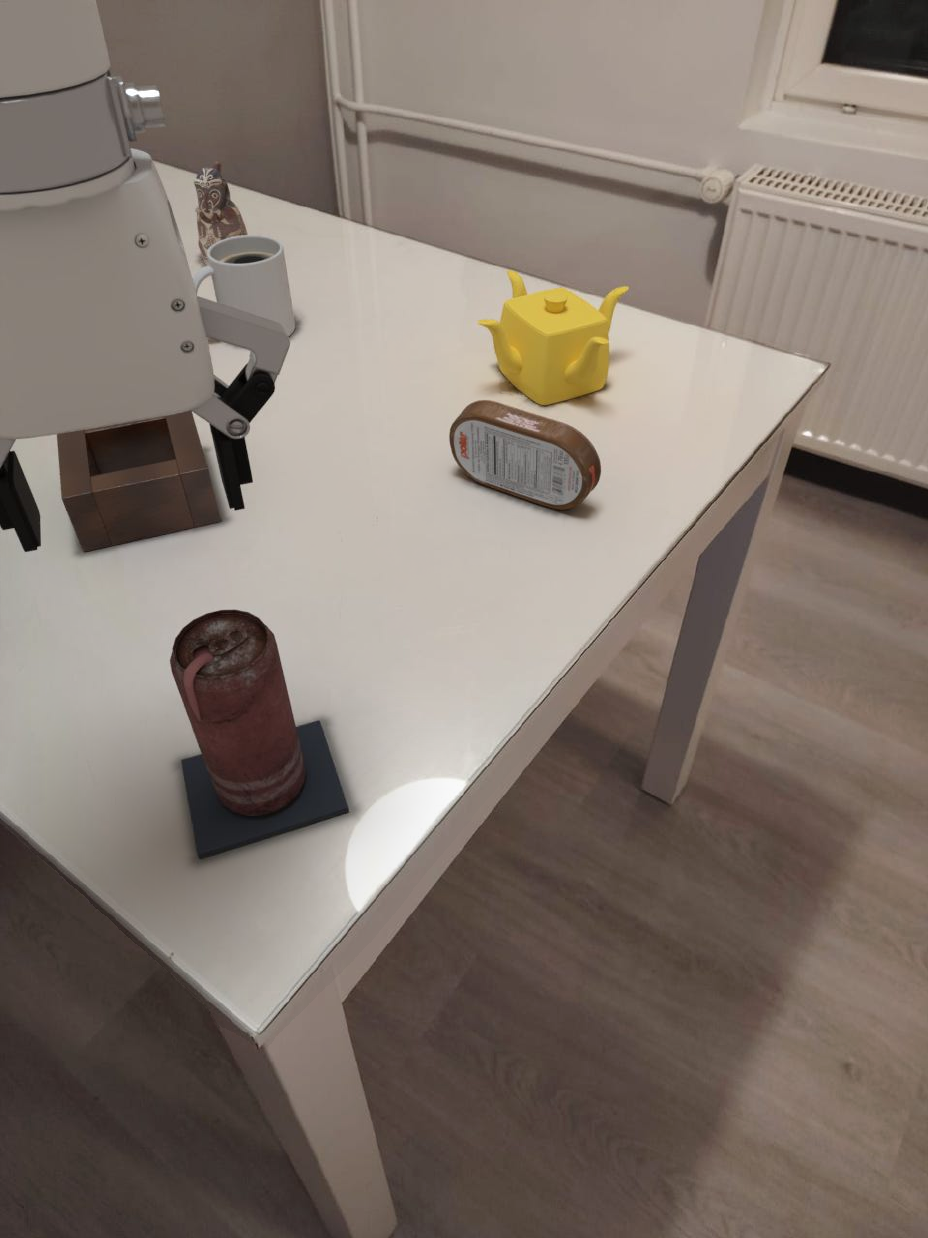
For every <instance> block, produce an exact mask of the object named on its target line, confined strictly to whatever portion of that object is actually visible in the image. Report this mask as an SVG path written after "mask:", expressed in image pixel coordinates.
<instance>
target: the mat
mask: <svg viewBox="0 0 928 1238" xmlns="http://www.w3.org/2000/svg"><path fill="white" fill-rule="evenodd" d="M296 729H297V734H298V738H299V742H300V747H301V751H302V755H303V760H304V764H305V769H306V772H305V781H304V783H303V785H302V787H301V789H300V791H299V793H298V794H297V795H296V796H295V797H294V798H293V799H292V800H291V801H290V803H289V804H288V805H286V806H284V807H283V808H281V809H280V810H278V811H276V812H273V813H270V814H267V815H263V816H247V815H243V814H239V813H235V812H233V811H231V810H230V809H228V808H227V807H225V806H224V805H223V804H222V802H221V801H220V799H219V798H218V796H217V794H216V792H215V789H214V786H213V783H212V781H211V778H210V775H209V773H208V770H207V767H206V764H205V762H204V759H203V756H202V753H201V754H197V755H193V756H190V757H187V758H186V757H185V758H183V759H181V760H180V764H181V769H182V774H183V779H184V786H185V791H186V792H185V793H186V797H187V803H188V809H189V814H190V820H191V826H192V831H193V832H192V833H193V837H194V843H195V848H196V854H197V856H198V859H199V860H202V859H205V858H208V857H210V856H214V855H217V854H220V853H224V852H227V851H230V850H234V849H236V848H241V847H242V846H247V845H249V844H252V843H255V842H259V841H262V840H265V839H268V838H271V837H274V836H278V835H280V834H283V833H287V832H289V831H293V830H296V829H300V828H303V827H306V826H309V825H313V824H315V823H319V822H322V821H324V820H329V819H332V818H334V817H338V816H340V815H343V814H347V813H349V812H350V809H349V806H348V805H349V804H348V801H347V799H346V796H345V793H344V790H343V786H342V784H341V780H340V778H339V775H338V772H337V769H336V768H337V767H336V766H335V763H334V759H333V757H332V753H331V751H330V747H329V744H328V742H327V738H326V735H325V732H324V729H323V726H322V723H321V720H319V719H318V720H315V721H312V722H308V723H304V724H301V725H298V726H296Z"/></svg>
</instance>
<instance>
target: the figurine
mask: <svg viewBox="0 0 928 1238" xmlns="http://www.w3.org/2000/svg"><path fill="white" fill-rule="evenodd" d="M221 171H222V163H220V162H218V161H214V162H213V165H212V167H207V166H206V167H202V168H201V169H200V171H198V172H197V175H196V178H195V179H194V181H193V185H194V187H195V191H196V196H197V203H198V206H195V208H194V211H195V213H196V226H197V234H198V248H199V250H200V255H201V258H202V260H203V263H204V264H205V266H208V265H209V263H208V258H205V257H207V251H208V249H209V248H210V246H212V245H213V244H215V243H216V242H218V241H221V240H224V239H227V238H230V237H235V236H242V235H249V233H248V231H247V227H246V224H245V222H244V219H243V216H242V213H241V211H240V209H239V208H238V206H237V205H236V204H235V203H234V202H233V201H232V200H231V191H230V188H229V185H228V182H227V181H226V180H225V179H224V178H223V176H222V175H221ZM204 256H205V257H204Z"/></svg>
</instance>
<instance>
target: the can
mask: <svg viewBox="0 0 928 1238" xmlns="http://www.w3.org/2000/svg"><path fill="white" fill-rule="evenodd" d="M171 650H172V651H171V655H170V658H169V665H170V670H171V674H172V677H173V680H174V682H175V685H176V688H177V691H178V693H179V696H180V699H181V701H182V705H183V708H184V710H185V712H186V715H187V717H188V720H189V723H190V726H191V729H192V731H193V734H194V738H195V740H196V743H197V745H198V747H199V748H198V749H199V750H200V753H201V754H202V756H203V759H204V762H205V764H206V767H207V770H208V773H209V775H210V778H211V781H212V783H213V786H214V789H215V792H216V794H217V796H218V798H219V799H220V801H221V802H222V804H223V805H224V806H225V807H227V808H228V809H230V810H231V811H233V812H235V813H239V814H243V815H247V816H263V815H267V814H270V813H273V812H276V811H278V810H280V809H281V808H283V807H284V806H286V805H288V804H289V803H290V801H291V800H292V799H293V798H294V797H295V796H296V795H297V794H298V793H299V791H300V789H301V787H302V785H303V783H304V781H305V772H306V769H305V764H304V760H303V755H302V751H301V747H300V742H299V738H298V734H297V729H296V727H297V726H296V721H295V716H294V713H293V708H292V704H291V700H290V695H289V690H288V686H287V682H286V677H285V673H284V669H283V665H282V660H281V656H280V651H279V648H278V643H277V640H276V636H275V634H274V633H273V631H272V630H271V629H270V628H269V627H268V626H267V625H266V624H265V623H264V622H263V620H262V619H261V617H259V616H256V614H255V615H254V614H253V613H251V612H249V611H244V610H239V609H219V610H215V611H211V612H207V613H204V614H202V615H200V616H198V617H196V618H193V619H192V620H191V621H189V622H188V623H187V624H186V625H185V626H183V627H182V628H181V630H180V631H179V632H178V634H177V635H176V636H175V638H174V641H173V645H172V649H171Z"/></svg>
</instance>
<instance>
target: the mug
mask: <svg viewBox="0 0 928 1238" xmlns="http://www.w3.org/2000/svg"><path fill="white" fill-rule="evenodd" d="M207 258H208V263H209V265H205V266H203V267H200V268H199V269H198V270H197V271H196V272H195V273H194V274H193V276H192V279H193V283H194V287H195V291H196V295H197V296H198V292H199V288H200V286H201V284H202V282H204V280H205V279H206V278H208V277H211V281H212V285H213V290H214V296H215V301H216V302H217V303H220V304H223V305H226V306H229V307H232V308H235V309H238V310H241V311H244V312H247V313H251V314H254V315H257V316H260V317H263V318H266V319H269V320H272V321H275V322H278V323H280V324H281V325H282V326H283V327H284V329H285V331H286V333H287V335H288V337H290V336H291V335H292V334H293V333H294V331H295V329H296V319H295V315H294V314H295V313H294V309H293V302H292V295H291V287H290V281H289V276H288V269H287V268H288V267H287V262H286V255H285V249H284V245H283V243H282V242H281V241H280V240H278V239H277V238H274V237H271V236H267V235H260V234H248V235H242V236H235V237H230V238H227V239H224V240H221V241H218V242H216V243H215V244H213V245H212V246H210V248H209V249H208V251H207Z"/></svg>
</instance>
